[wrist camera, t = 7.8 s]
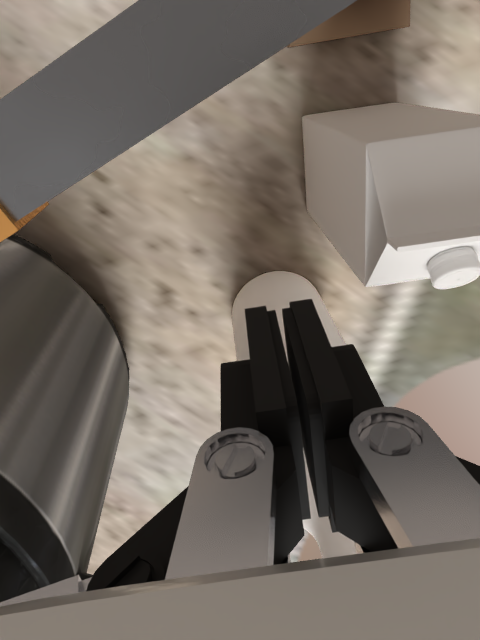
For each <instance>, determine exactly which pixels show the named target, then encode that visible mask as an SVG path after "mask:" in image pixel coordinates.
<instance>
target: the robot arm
mask: <svg viewBox="0 0 480 640" xmlns="http://www.w3.org/2000/svg"><path fill="white" fill-rule="evenodd" d="M289 305H290V308H284V309H282V316H283V324H284V332H285V341H286V349H287V357H288V362H287V357H286V353H285V349H284V345H283V340H282V336H281V332H280V328H279V323H278V319H277V315H276V311H275V310H271V311H267V309H266V306H260V307H253V308H247V309H245V318H246V328H247V337H248V346H249V356H250V359H248V360H241V361H235V362H228V363H221V432H218V433H216V434H215V435H213V436H212V437H210V438H209V439H207V440H206V441H205V442H204V444H203V445H202V446H201V447H200V449H199V451H198V453H197V455H196V459H195V463H194V467H193V471H192V475H191V479H190V483H189V486H188V487H187V488H186V489H185V490H184V491H182V492H181V493H180V494H179V495H178V496H177V497H176V498H175V499H173V500H172V501H171V502H170V503H169V504H168V505H167V506H166V507H164V508H163V509H162V510H161V511H160V512H159V513H158V514H157V515H156V516H154V517H153V518H152V519H151V520H150V521H149V522H148V523H147V524H145V525H144V526H143V527H142V528H141V529H140V530H139V531H138V532H136V533H135V534H134V535H133V536H132V537H131V538H130V539H129V540H127V541H126V542H125V543H124V544H123V545H122V546H121V547H120V548H118V549H117V550H116V551H115V552H114V553H113V554H112V555H111V556H109V557H108V558H107V559H106V560H105V561H104V562H103V563H102V565H101V566H100V567H99V568H98V569H97V570H96V571H95V573H94V575H93V577H91V578H88V579H85V580H81V578H80V576H79V575H76V576H74V577H71V578H68V579H65V580H62V581H59V582H57V583H54V584H51V585H48V586H45V587H43V588H40V589H37V590H34V591H31V592H28V593H26V594H23V595H20V596H17V597H14V598H11V599H9V600H6V601H3V602H0V640H480V466H478V465H476V464H473V463H471V462H468V461H466V460H463V459H461V458H459V457H456V456H455V455H454V454H453V453H452V452H451V451H450V450H449V448H448V447H447V446H446V445H445V444H444V442H443V441H442V440H441V439H440V438H439V437H438V435H437V434H436V433H435V432H434V431H433V429H432V428H431V427H430V426H429V425H428V424H427V423H426V422H425V421H424V420H423V419H422V418H421V417H420V416H418V415H416V414H414V413H412V412H410V411H408V410H404V409H400V408H397V407H384V405H383V403H382V401H381V399H380V397H379V395H378V393H377V391H376V389H375V387H374V385H373V383H372V381H371V379H370V377H369V375H368V373H367V371H366V369H365V367H364V365H363V363H362V361H361V359H360V357H359V354H358V352H357V350H356V348H355V347H354V345H352V344H349V345H342V346H335V347H331V345H330V342H329V340H328V337H327V335H326V332H325V330H324V327H323V325H322V323H321V320H320V318H319V315H318V313H317V310H316V308H315V305H314V303H313V301H312V299H306V300H299V301H293V302H290V303H289ZM288 365H289V366H288ZM303 449H304V452H303ZM304 454H305V458H306V463H307V467H308V472H309V476H310V481H311V485H312V490H313V494H314V499H315V503H316V508H317V512H318V516H319V518H320V517H327V516H328V518H329V522H330V526H331V530H332V533H334V532H339V533H341V534H343V535H344V536H346V537H348V538H349V539H351V540H352V541H354V546H355V550H356V553H357V554H353V555H345V556H337V557H330V558H322V559H315V560H308V561H300V562H292V563H291V560H290V554H289V553H290V552H291V551H292V550H293V548H294V547H295V546H296V545H297V544H298V542H299V541H300V540H301V539H302V537H303V536H304V528H303V520H305V519H311V514H310V505H309V496H308V487H307V479H306V470H305V461H304Z"/></svg>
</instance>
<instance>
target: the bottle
mask: <svg viewBox="0 0 480 640" xmlns="http://www.w3.org/2000/svg"><path fill="white" fill-rule="evenodd" d="M306 299H312V301H313V303H314V305H315V308H316V310H317V313H318V315H319V318H320V320H321V323H322V325H323V327H324V330H325V332H326V335H327V337H328V340H329V342H330V345H331V347H335V346H342V345H346V343H345V341H344V339H343V337H342V336H341V334H340V332H339V330H338V328H337V326H336V324H335V323H334V321H333V319H332V317H331V315H330V313H329V311H328V309H327V308H326V306H325V304H324V302H323V300H322V298H321V296H320V295H319V293H318V291H317V290H316V288H315V287H314V286H313V285H312V284H311V283H310V282H309V281H308V280H307V279H305V278H304V277H302V276H300V275H298V274H295V273H292V272H286V271H273V272H268V273H264V274H262V275H259V276H257V277H255V278H254V279H252V280H250V281H249V282H248V283H247V284H246V285H245V286H244V287H243V288H242V289H241V290H240V292H239V293H238V294H237V296H236V299H235V301H234V304H233V308H232V325H233V333H234V341H235V349H236V357H237V361H241V360H248V359H250V356H249V346H248V337H247V328H246V318H245V309H247V308H253V307H260V306H266V309H267V311H271V310H275V311H276V315H277V319H278V323H279V328H280V332H281V336H282V340H283V345H284V349H285V353H286V357H287V349H286V341H285V332H284V324H283V316H282V309H284V308H290V305H289V303H290V302H293V301H299V300H306ZM287 362H288V357H287ZM288 366H289V365H288ZM303 452H304V449H303ZM304 461H305V470H306V479H307V487H308V496H309V505H310V514H311V519H305V520H303V528H305V529H306V530H307V531H308V532H309V533H310V534H311V535H312V536H313V537H314V538H315V539H316V541H317V543H318V546H319V548H320V552H321V555H322V558H330V557H337V556H345V555H353V554H357V553H356V550H355V546H354V541H352V540H351V539H349V538H348V537H346V536H344V535H343V534H341V533H339V532H334V533H332V530H331V526H330V522H329V518H328V516H327V517H320V518H319V516H318V512H317V508H316V503H315V499H314V494H313V490H312V485H311V481H310V476H309V472H308V467H307V463H306V458H305V454H304Z"/></svg>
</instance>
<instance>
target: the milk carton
mask: <svg viewBox="0 0 480 640" xmlns="http://www.w3.org/2000/svg"><path fill="white" fill-rule="evenodd" d="M302 128H303V147H304V165H305V184H306V202H307V212H308V213H309V215H310V216H311V217H312V219H313V220H314V221H315V222H316V224H317V225H318V226H319V228H320V229H321V230H322V232H323V233H324V234H325V236H326V237H327V238H328V239H329V241H330V242H331V243H332V245H333V246H334V247H335V249H336V250H337V251H338V252H339V254H340V255H341V256H342V258H343V259H344V260H345V262H346V263H347V264H348V265H349V267H350V268H351V269H352V271H353V272H354V273H355V275H356V276H357V277H358V278H359V280H360V281H361V282H362V283H363V285H364V286H365V287H372V286H379V285H387V284H394V283H401V282H408V281H415V280H421V279H428V278H430V279H431V282H432V285H433V287H434V288H437V289H450V288H455V287H459V286H462V285H465V284H467V283H470V282H471V281H473V280H475V279H476V278H477V277H479V276H480V115H478V114H472V113H465V112H458V111H451V110H444V109H438V108H431V107H424V106H417V105H411V104H404V103H387V104H380V105H373V106H366V107H359V108H352V109H345V110H338V111H331V112H324V113H317V114H310V115H305V116H303V117H302Z"/></svg>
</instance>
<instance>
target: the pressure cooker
mask: <svg viewBox="0 0 480 640" xmlns="http://www.w3.org/2000/svg"><path fill="white" fill-rule="evenodd" d="M128 398H129V367H128V363H127V358H126V353H125V351H124V348H123V344H122V341H121V339H120V336H119V334H118V331H117V330H116V328H115V326H114V324H113V321H112V319H111V318H110V316H109V314H108V313H107V312H106V310H105V308H104V307H103V305H102V304H98V303H95V302H94V301H93V299H92V298H91V297H90V296H89V295H88V293H87V292H86V291H85V290H84V289H83V288H82V287H81V286H80V285H79V284H77V283H76V282H75V281H74V280H73V279H72V278H71V277H70V276H69V275H68V274H66V273H65V272H64V271H63V270H61V269H60V268H59V267H58V266H56V264H55V263H54V262H53V260H52V258H51V255H50V254H48V253H47V252H45V251H43V250H42V249H40V248H38V247H37V246H35V245H34V244H32V243H30V242H29V241H26V240H25V239H22V238H20V237H18V236H15V235H13V234H12V235H11V236H9V237H8V238H6V239H4V240H3V241H1V242H0V602H3V601H6V600H9V599H11V598H14V597H17V596H20V595H23V594H26V593H28V592H31V591H34V590H37V589H40V588H43V587H45V586H48V585H51V584H54V583H57V582H59V581H62V580H65V579H68V578H71V577H74V576H76V575H79V576H80V578H81V580H85V579H88V578H91V577H93V575H91V574H87V569H88V565H89V561H90V557H91V553H92V548H93V544H94V540H95V536H96V532H97V528H98V524H99V520H100V516H101V512H102V508H103V504H104V500H105V496H106V491H107V487H108V483H109V479H110V475H111V471H112V467H113V463H114V459H115V455H116V451H117V446H118V442H119V438H120V434H121V430H122V426H123V422H124V419H125V415H126V410H127V405H128Z"/></svg>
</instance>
